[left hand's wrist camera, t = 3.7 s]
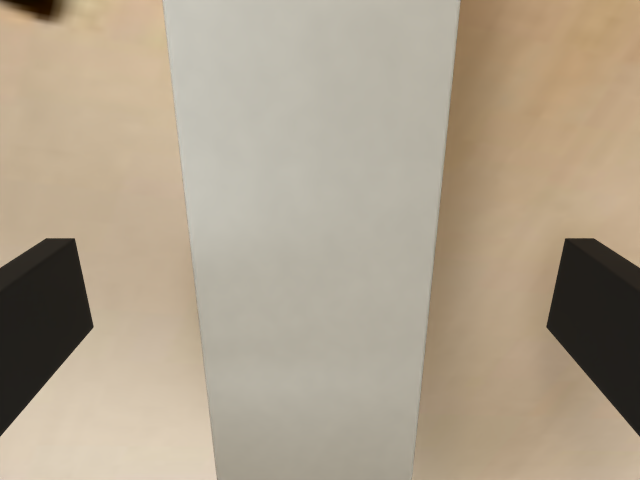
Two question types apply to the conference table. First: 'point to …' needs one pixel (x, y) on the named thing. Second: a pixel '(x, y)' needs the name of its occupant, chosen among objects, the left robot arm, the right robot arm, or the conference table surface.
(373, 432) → the bar
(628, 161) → the conference table surface
